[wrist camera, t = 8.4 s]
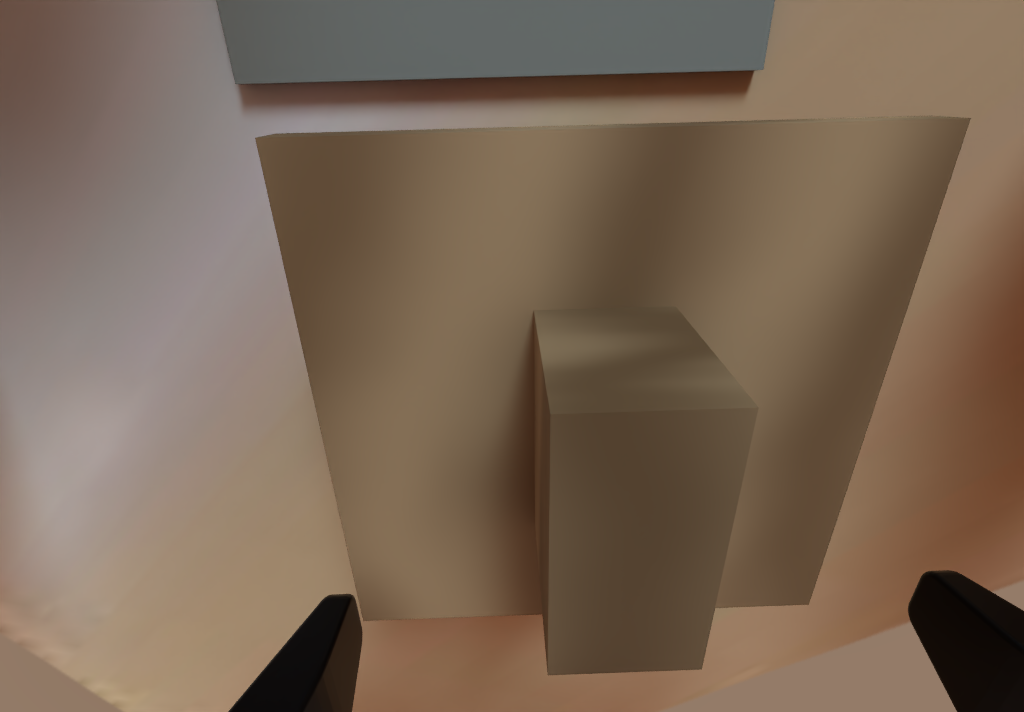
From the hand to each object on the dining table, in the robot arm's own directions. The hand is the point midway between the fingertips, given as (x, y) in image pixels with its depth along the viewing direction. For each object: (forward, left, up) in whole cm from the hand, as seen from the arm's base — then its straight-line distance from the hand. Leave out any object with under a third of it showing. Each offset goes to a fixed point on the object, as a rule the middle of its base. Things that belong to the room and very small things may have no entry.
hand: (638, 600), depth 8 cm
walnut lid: (0, 0, -6) cm, 6 cm away
